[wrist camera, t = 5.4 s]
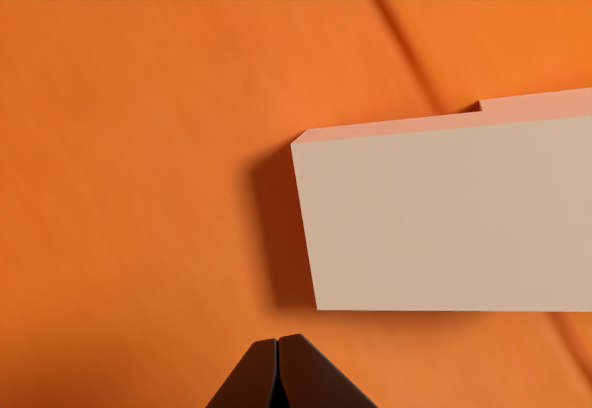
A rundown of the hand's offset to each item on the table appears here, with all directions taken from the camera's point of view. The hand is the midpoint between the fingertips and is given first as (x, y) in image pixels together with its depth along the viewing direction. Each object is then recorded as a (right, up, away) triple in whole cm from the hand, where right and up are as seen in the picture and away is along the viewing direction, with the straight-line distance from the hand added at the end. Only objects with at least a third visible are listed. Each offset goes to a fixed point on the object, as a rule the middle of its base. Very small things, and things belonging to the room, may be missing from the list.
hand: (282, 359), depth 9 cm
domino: (+1, +2, +6) cm, 7 cm away
